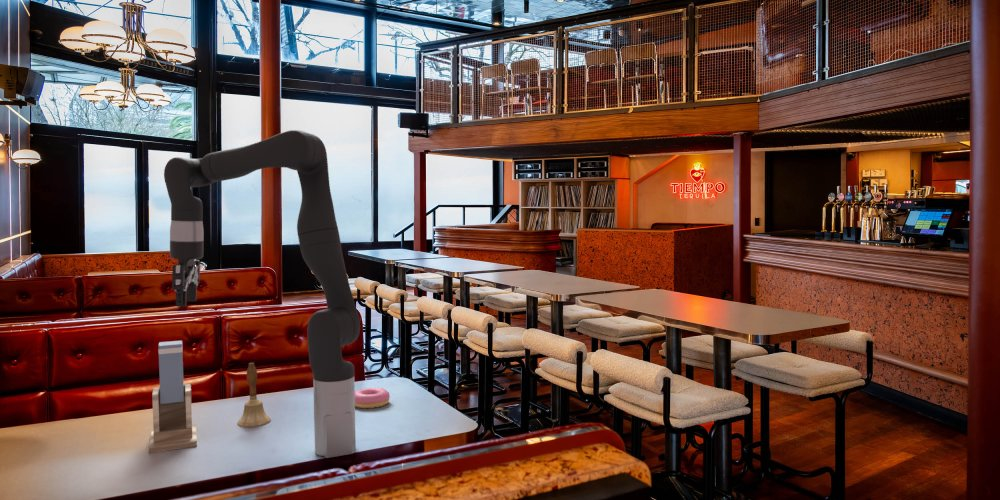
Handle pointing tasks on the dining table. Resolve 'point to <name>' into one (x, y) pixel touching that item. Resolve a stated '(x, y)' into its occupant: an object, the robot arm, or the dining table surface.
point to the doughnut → (371, 397)
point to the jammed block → (171, 372)
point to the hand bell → (253, 403)
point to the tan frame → (172, 423)
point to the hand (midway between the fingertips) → (186, 303)
